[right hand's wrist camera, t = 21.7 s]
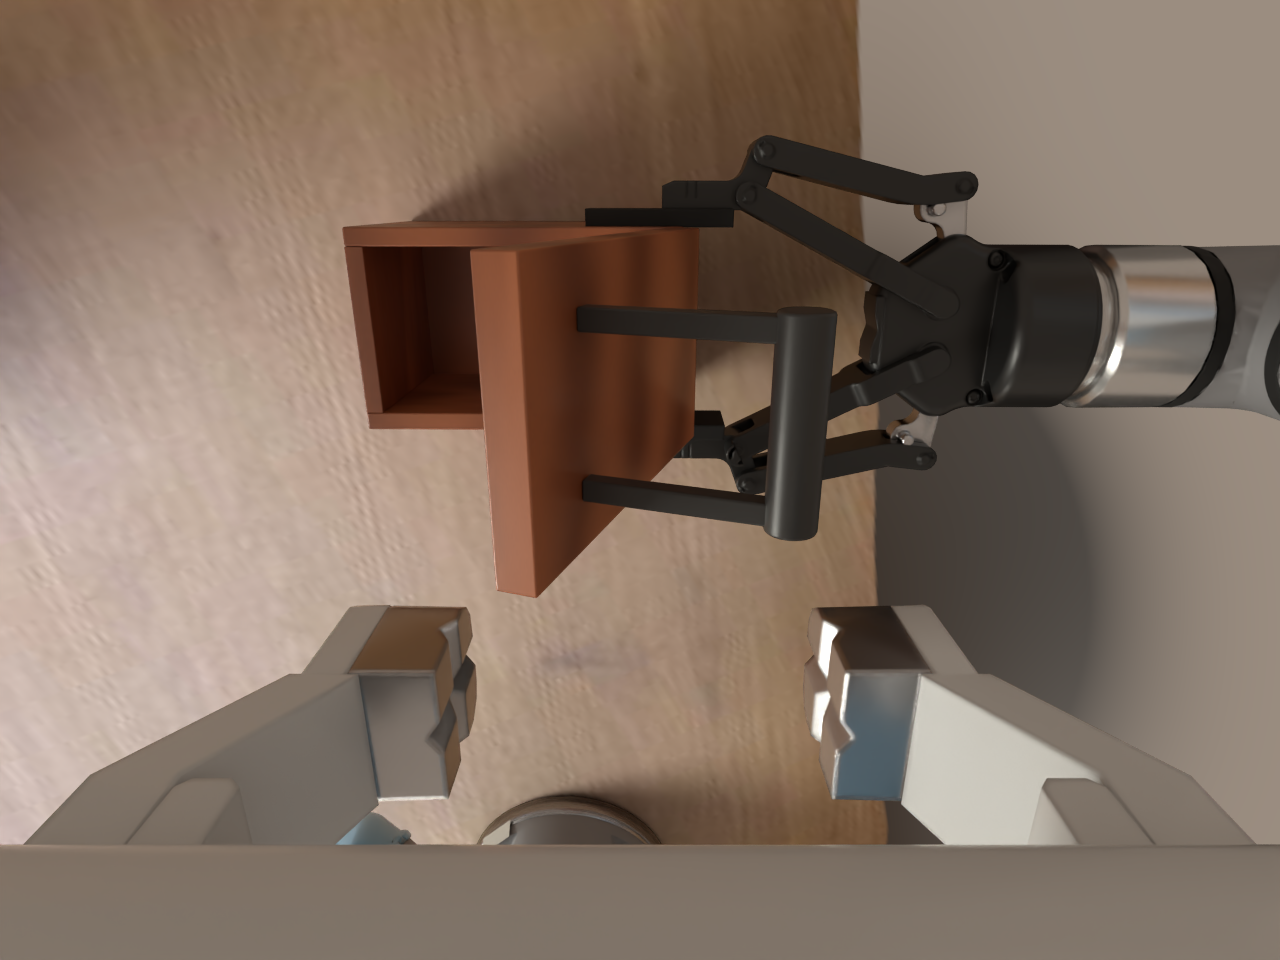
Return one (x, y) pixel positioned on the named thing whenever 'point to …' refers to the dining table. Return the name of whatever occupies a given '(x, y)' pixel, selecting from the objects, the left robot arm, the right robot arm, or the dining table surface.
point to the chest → (429, 313)
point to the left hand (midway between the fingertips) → (590, 325)
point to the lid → (625, 395)
